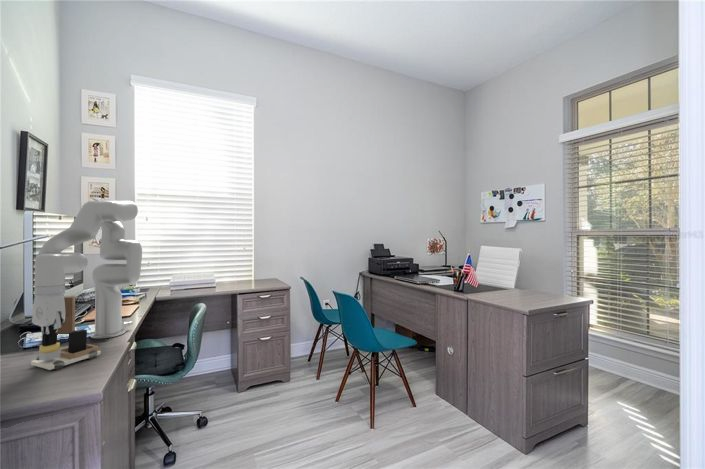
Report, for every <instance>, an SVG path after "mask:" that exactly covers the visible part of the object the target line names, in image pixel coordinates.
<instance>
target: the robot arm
mask: <svg viewBox="0 0 705 469" xmlns="http://www.w3.org/2000/svg"><path fill="white" fill-rule="evenodd" d="M138 213H139V210H138V205H137V204H136V203H135V202H134V201H131V200H108V199H105V200H104V199H103V200H90V201H87V202H84V203H83V205H82V206H81V208H80V209H79V211H78V213H77V214H76V216H75V218H74V220H73V221H72V223H71V225H70V227H68V228H67V229H65V230H62V231H60V232H58V233H57V234H55V235H54V236H52V237H51V238H49V239H48V240H47V241H46V242H45V243H44V244H43V245H42V246H41V248H40V250H39V251H38V253H37V255H36V256H35V258H34V259H35V260H34V298H33V303H32V304H33V305H32V311H31V312H32V313H31V323H32V324H33V325H35V326H38V327H40V330H41V338H42V339H41V345H42V346H50V345H54V344H56V343H57V342H58V341H57V332H58V329H59V328H61V324H62V323H64V321H65V300H64V296H65V294H66V274H77V273H80V272H82V271H84V270H85V269H86V268H87V265H88V264H89V263H88V262H89V261H88V258H87V255H85V254H83V253H80V252H69V251H68V252H65V250H66V249H68V248H70V247H73V246H76V245H79V244H83V243H85V242H89V241H91V240H94V239H95V238H96V236H97V235H98V233H99V231H100V230H101V237H100V238H101V239H100V246H99V255H100V259H102V260H103V261H109V262H114V261H115V262H121V261H122V262H126V263H103V264H99V265H97V266H95V268H93V270H92V280H93V284H94V293H95V294H94V295H95V296H94V299H95V300H94V303H95V304H94V307H95V308H94V332H95V334H92V335H90V338H91V339H98V340H99V339H109V338H115V337H119V336H121V335H123V334H125V333H126V331H127V330H126V327H129V326H132V325H133V321H131V320H130V321H123V320H122V319H123V318H122V317H123V316H122V315H123V312H122V310H123V300H122V299H123V294H122V291H121V289H120V288H119V287H118V286H129V285H130V286H132V285H135V284H137V283H138V282H139V280H140V278H141V272H142V271H141V269H142V258H143V248H142V245H141V243H140V242H139V241H138V240H134V239H125V236H126V230H125V227H124V225H123V223H121V222H125V221H132V220H134V219H135V218H136V217H137V215H138ZM63 251H64V252H63Z"/></svg>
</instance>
